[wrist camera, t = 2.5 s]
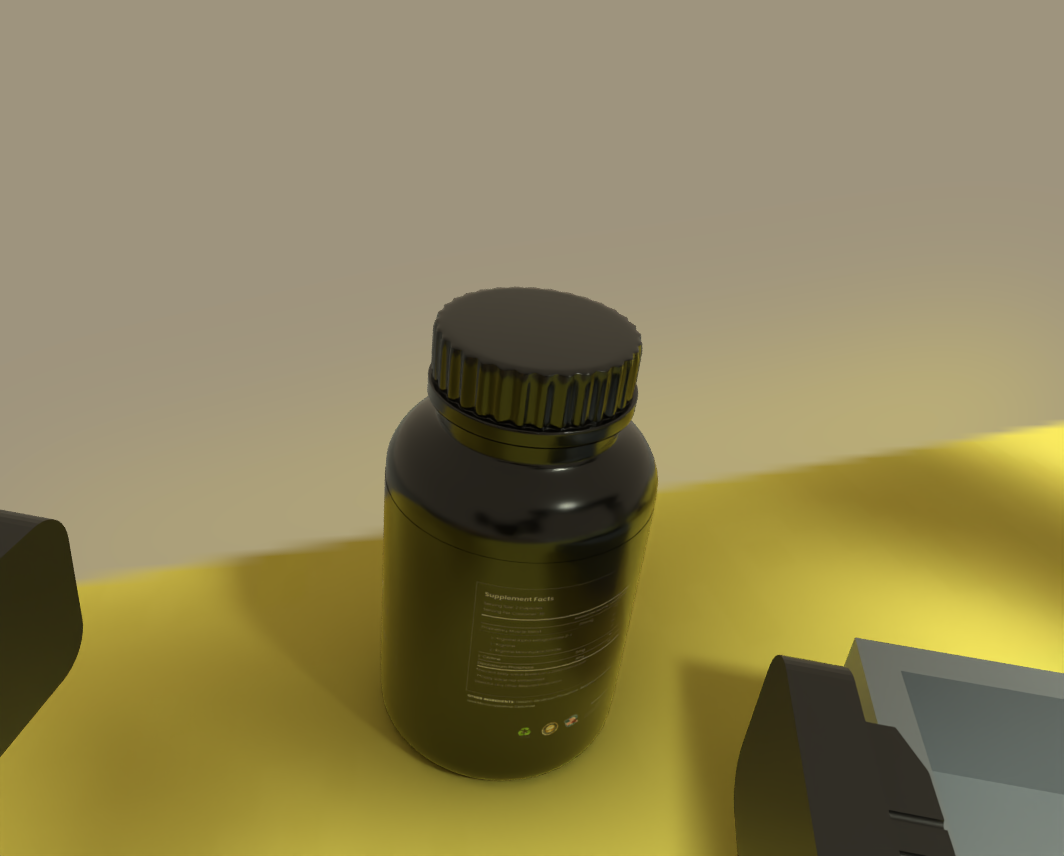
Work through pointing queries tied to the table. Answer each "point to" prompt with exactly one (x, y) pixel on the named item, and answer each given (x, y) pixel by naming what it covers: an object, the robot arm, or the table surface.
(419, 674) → the supplement bottle
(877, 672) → the tray
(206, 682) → the table surface
